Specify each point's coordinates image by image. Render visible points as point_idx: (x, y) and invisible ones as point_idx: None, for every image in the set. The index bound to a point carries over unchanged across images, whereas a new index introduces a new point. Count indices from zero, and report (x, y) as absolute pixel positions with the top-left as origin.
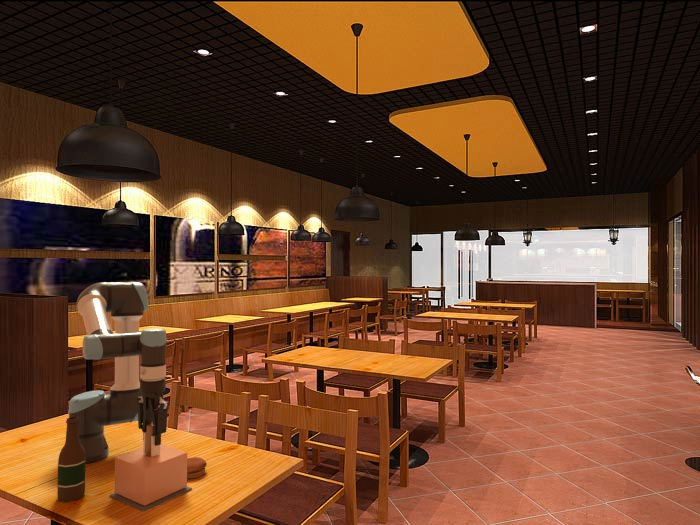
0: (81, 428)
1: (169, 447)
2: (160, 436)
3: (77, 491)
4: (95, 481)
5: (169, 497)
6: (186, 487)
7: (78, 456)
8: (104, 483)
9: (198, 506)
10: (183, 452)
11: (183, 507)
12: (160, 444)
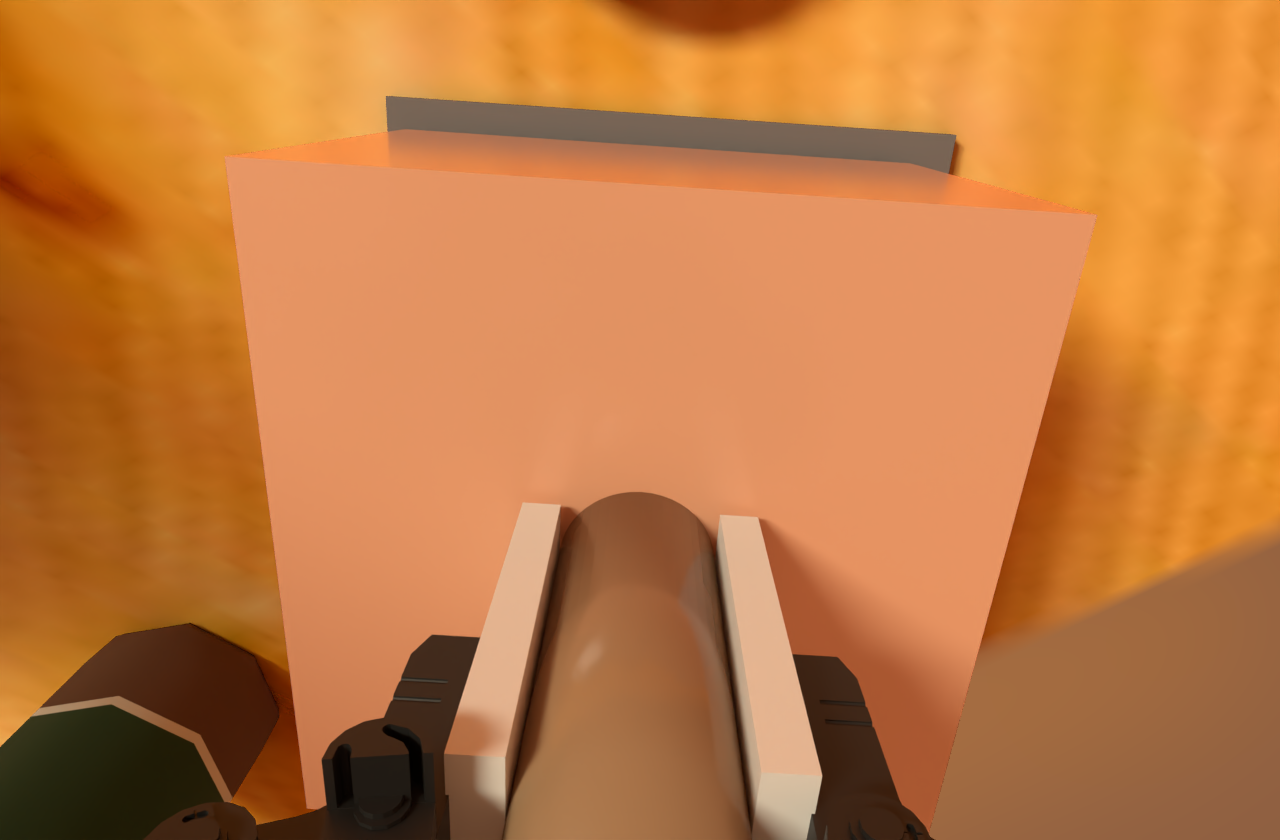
0: None
1: (623, 212)
2: (888, 794)
3: (253, 753)
4: (23, 462)
5: None
6: (896, 155)
7: None
8: (126, 450)
9: (1227, 354)
10: (1033, 253)
11: (1108, 425)
12: (837, 658)
